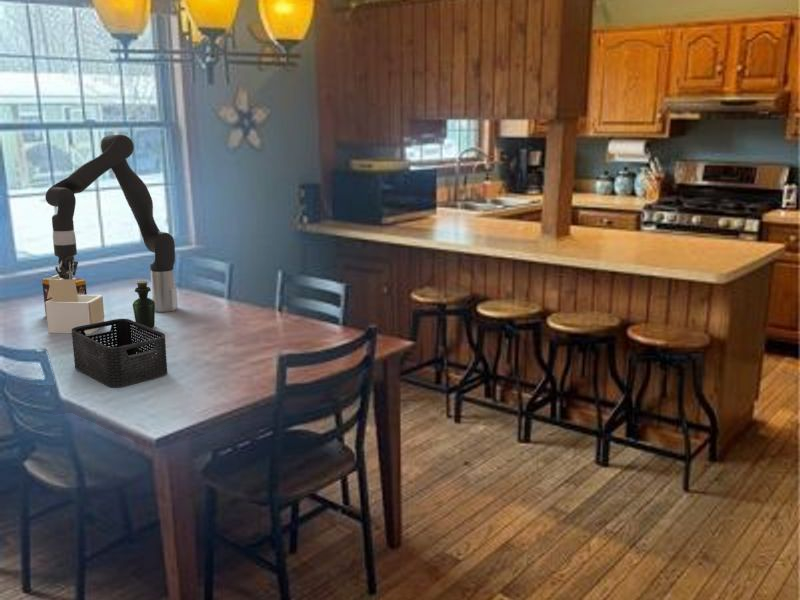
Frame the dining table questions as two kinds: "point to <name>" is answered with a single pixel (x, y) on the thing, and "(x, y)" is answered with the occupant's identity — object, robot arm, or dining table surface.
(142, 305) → the potion bottle
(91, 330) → the carton
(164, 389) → the dining table surface
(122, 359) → the storage bin
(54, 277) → the short flap
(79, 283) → the supplement box
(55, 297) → the long flap
